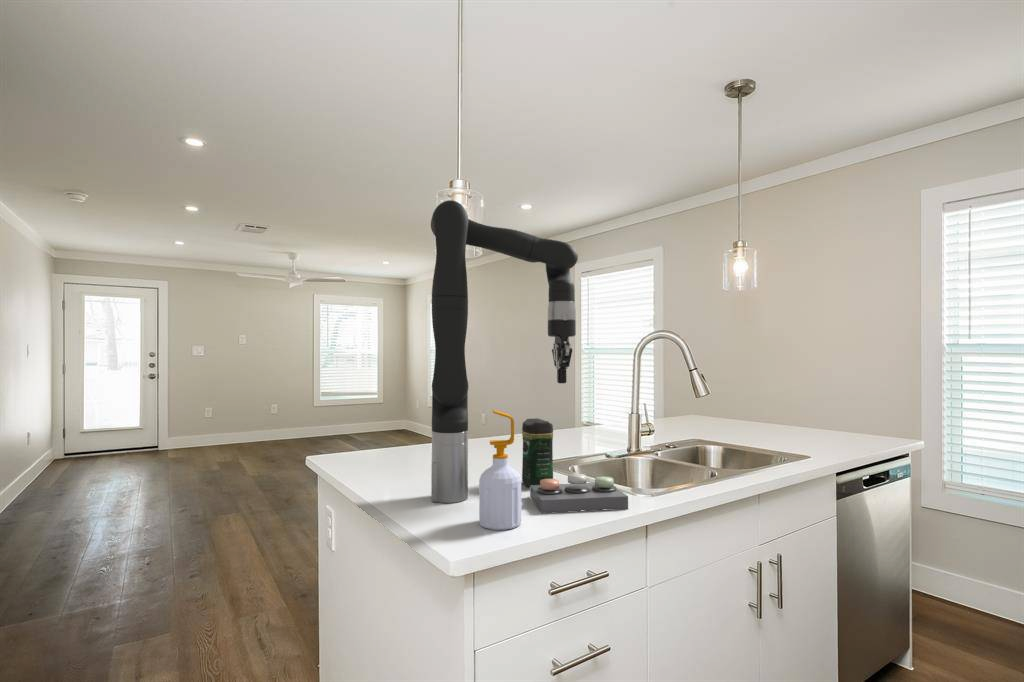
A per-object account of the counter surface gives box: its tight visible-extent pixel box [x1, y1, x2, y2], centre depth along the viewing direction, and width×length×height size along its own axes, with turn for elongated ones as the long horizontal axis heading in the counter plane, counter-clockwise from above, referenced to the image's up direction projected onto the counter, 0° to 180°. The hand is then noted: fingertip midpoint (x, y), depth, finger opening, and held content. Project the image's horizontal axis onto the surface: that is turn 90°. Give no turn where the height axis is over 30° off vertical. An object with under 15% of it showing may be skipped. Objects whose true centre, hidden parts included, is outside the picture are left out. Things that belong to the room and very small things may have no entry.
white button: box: [567, 473, 588, 484], centre depth 130 cm, size 5×5×2 cm
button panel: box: [529, 482, 629, 514], centre depth 130 cm, size 21×14×4 cm, turn 99°
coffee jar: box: [521, 417, 554, 488], centre depth 148 cm, size 10×8×19 cm
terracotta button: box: [540, 478, 560, 490], centre depth 129 cm, size 5×5×2 cm
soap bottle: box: [478, 409, 522, 531], centre depth 114 cm, size 9×9×25 cm
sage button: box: [594, 476, 615, 487], centre depth 131 cm, size 5×5×2 cm
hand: (561, 383), depth 142 cm, fingers closed
